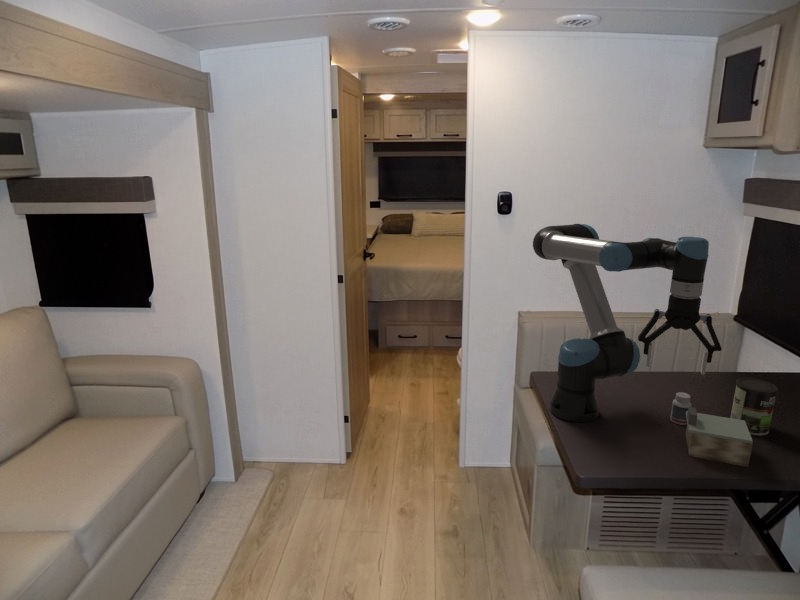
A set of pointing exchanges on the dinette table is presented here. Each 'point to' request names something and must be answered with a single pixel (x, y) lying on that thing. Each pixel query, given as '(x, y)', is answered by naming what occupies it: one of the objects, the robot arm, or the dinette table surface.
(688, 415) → the lid
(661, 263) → the robot arm
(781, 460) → the dinette table surface
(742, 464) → the box
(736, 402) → the coffee can
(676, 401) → the pill bottle
